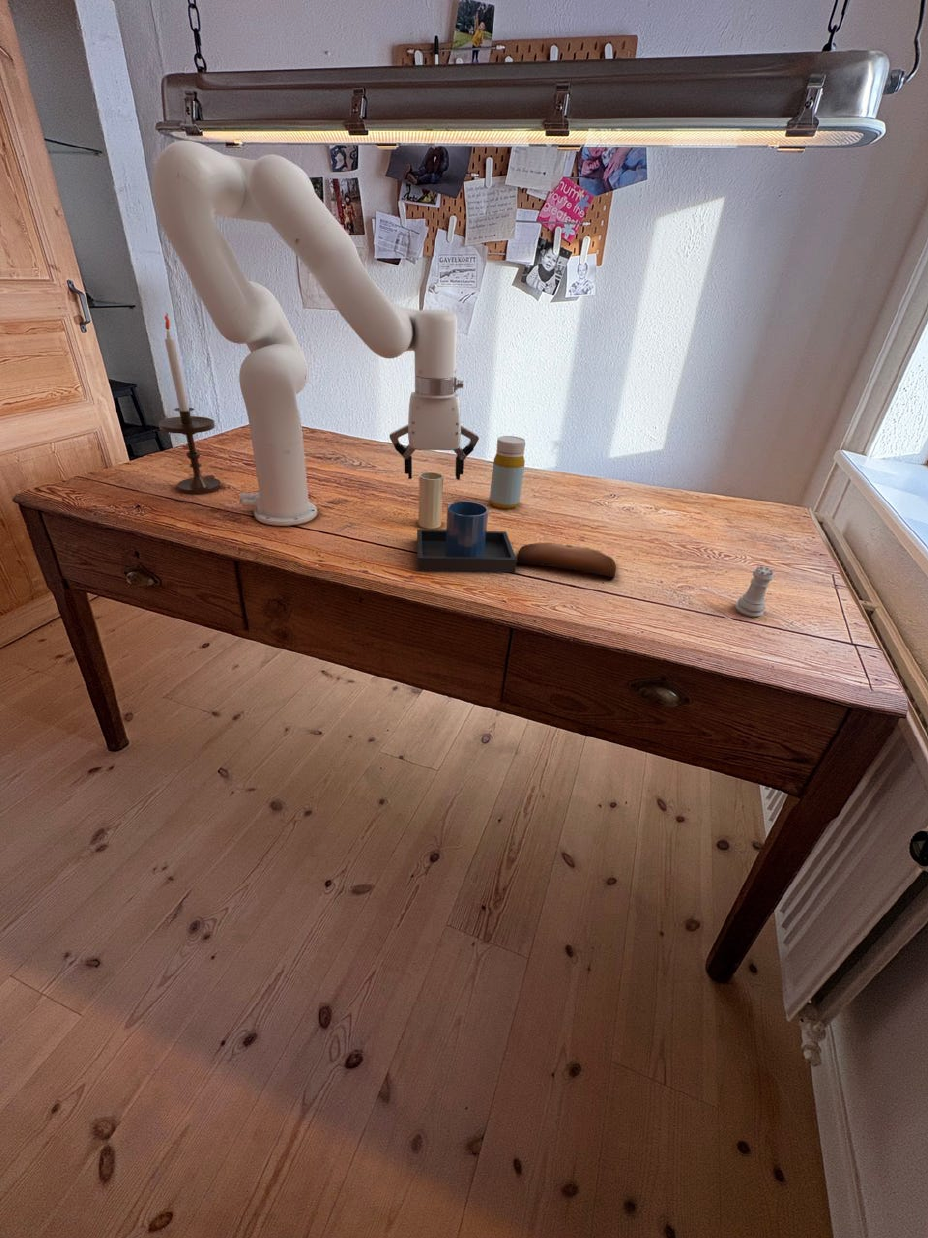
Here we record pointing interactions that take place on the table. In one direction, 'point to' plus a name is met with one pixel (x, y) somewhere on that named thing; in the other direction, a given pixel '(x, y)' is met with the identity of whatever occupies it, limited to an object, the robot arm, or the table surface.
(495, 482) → the bottle
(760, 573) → the rook chess piece
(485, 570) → the tray
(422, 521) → the small cup
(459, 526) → the big cup
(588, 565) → the sunglasses case
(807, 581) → the table surface
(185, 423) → the candlestick
